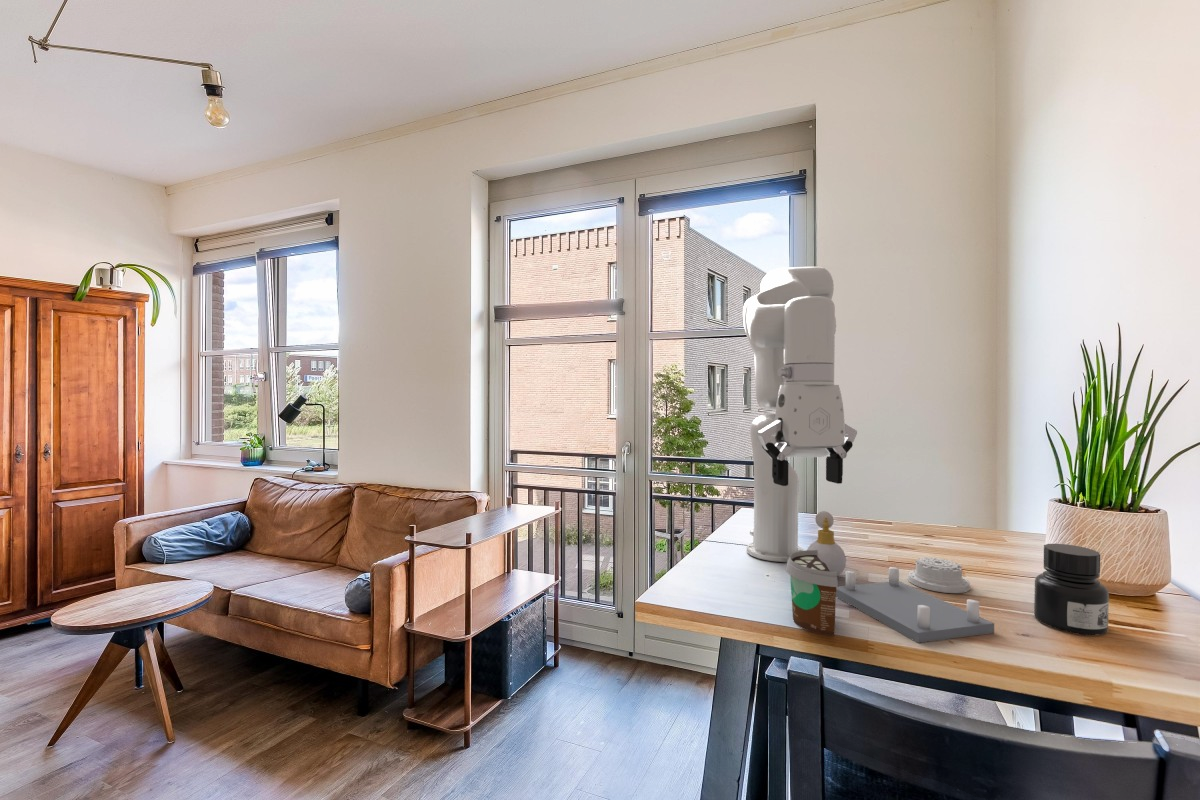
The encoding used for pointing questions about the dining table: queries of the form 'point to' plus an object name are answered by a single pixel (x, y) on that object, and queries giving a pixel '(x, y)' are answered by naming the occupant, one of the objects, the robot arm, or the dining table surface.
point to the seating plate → (913, 609)
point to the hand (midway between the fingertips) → (807, 483)
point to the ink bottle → (1071, 591)
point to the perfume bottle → (828, 544)
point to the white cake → (939, 576)
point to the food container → (812, 592)
